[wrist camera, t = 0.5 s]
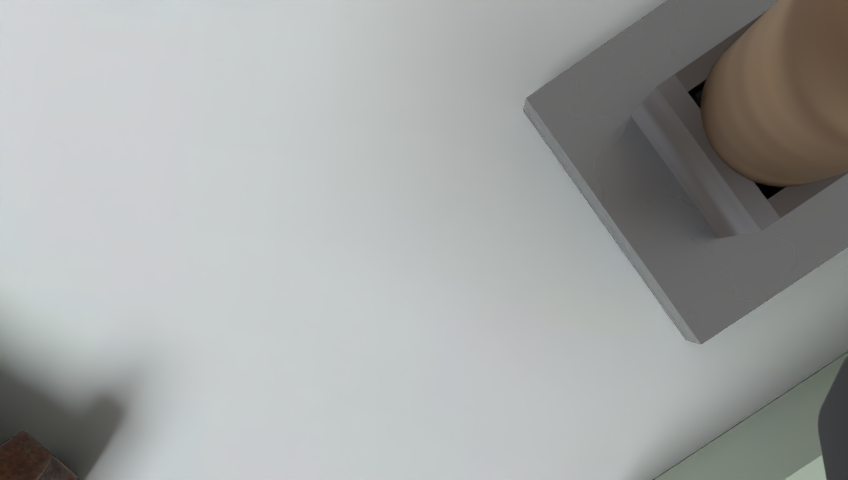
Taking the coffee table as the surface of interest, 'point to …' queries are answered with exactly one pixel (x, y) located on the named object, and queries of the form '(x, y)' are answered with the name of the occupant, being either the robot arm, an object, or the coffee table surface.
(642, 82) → the square lid with knob
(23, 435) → the bolt
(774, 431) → the bin
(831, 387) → the robot arm
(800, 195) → the brown peg with base
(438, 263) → the coffee table surface
